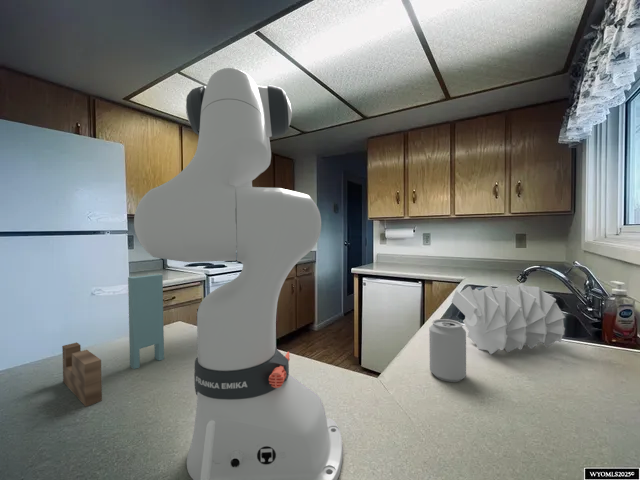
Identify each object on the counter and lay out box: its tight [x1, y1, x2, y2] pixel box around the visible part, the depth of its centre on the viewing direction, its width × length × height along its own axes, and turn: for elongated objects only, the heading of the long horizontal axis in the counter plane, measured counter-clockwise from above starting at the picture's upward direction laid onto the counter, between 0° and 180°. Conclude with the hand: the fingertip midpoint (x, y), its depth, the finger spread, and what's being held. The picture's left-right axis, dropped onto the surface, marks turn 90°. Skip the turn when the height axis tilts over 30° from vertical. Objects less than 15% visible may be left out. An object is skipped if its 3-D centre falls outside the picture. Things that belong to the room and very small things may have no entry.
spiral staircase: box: [450, 282, 566, 355], centre depth 79 cm, size 18×18×25 cm
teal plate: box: [127, 273, 165, 370], centre depth 72 cm, size 2×7×22 cm, turn 143°
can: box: [428, 318, 467, 383], centre depth 64 cm, size 8×8×12 cm
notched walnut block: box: [61, 342, 103, 408], centre depth 59 cm, size 16×2×8 cm, turn 53°
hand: (191, 237), depth 82 cm, fingers open, 8 cm apart
